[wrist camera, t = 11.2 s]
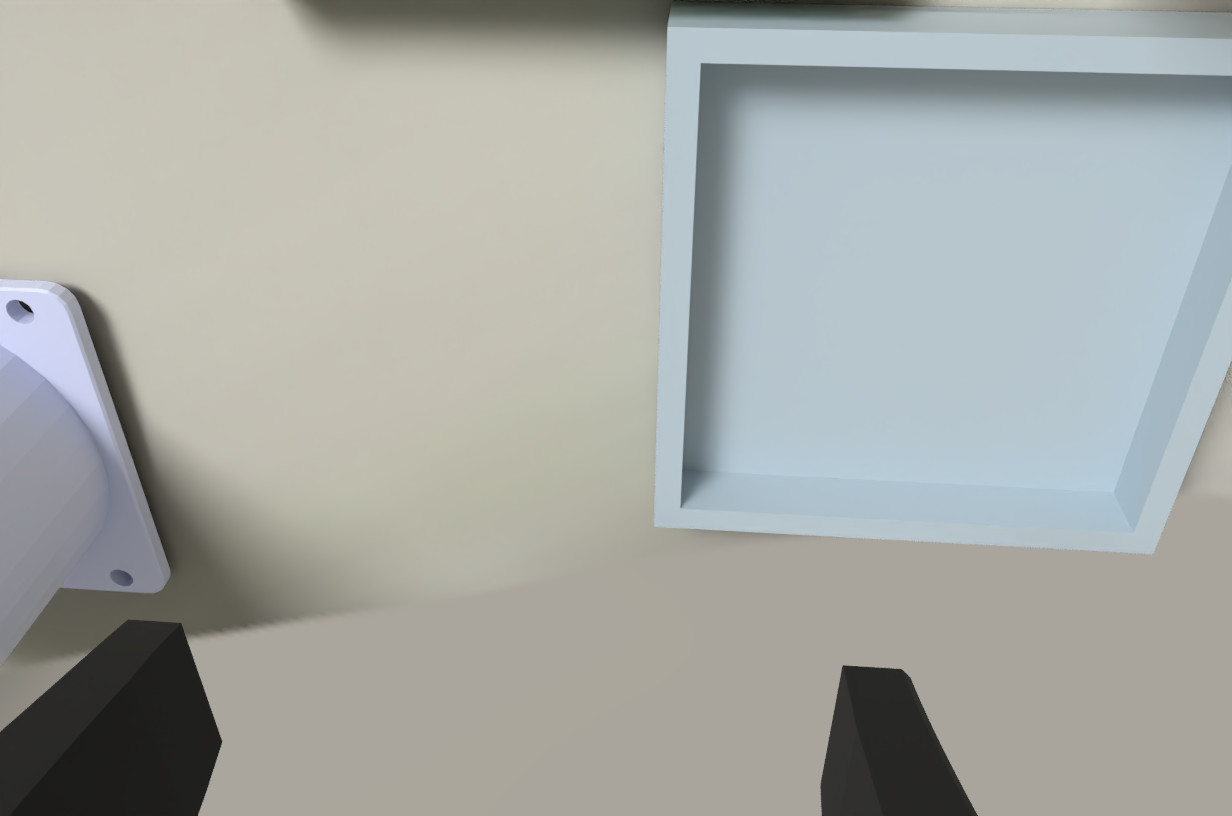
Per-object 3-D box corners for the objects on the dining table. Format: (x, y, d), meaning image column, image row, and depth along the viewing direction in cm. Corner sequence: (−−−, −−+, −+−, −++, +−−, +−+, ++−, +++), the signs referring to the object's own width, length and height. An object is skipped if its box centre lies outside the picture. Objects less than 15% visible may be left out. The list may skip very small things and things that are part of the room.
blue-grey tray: (657, 479, 21) (654, 526, 20) (671, 1, 16) (666, 26, 15) (1127, 503, 21) (1153, 554, 19) (1309, 14, 15) (1360, 42, 14)
